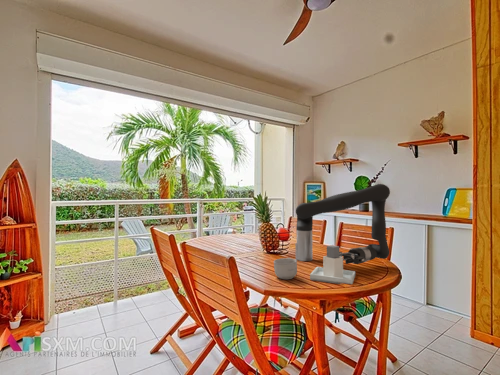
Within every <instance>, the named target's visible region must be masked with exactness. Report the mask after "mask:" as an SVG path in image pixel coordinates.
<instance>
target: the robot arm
mask: <svg viewBox="0 0 500 375" xmlns="http://www.w3.org/2000/svg"><path fill="white" fill-rule="evenodd" d="M390 190H391V189H390V188H389V186H388V185H386V184H383V183H378V184H375V185H374V184H373V185H372V186H369V187H366V188H363V189H359V190H354V191H346V192H342V193H338V194H333V195H331V196H328V197H324V198H323V199H320V200H317V201H312V202H301V203H299V204H298V205H297V206H296V208H295V215H296V225H295V226H296V242H295V247H294V248H295V260H297V261H301V262H310V261H311V262H312V261H313V217H315V216H317V215H320V214H328V213H335V212H340V211H344V210H348V209H351V208H355V207H356V206H359V205H362V204H367V203H371V209H372V210H371V211H372V213H371V214H372V217H371V239H372V240H375V241H376V242H377V243H378V244H377V243H370V244H368V245H366V246H358V247H354V248H351V249H349V250H348V251H346V252H343V251H339V256H340V257H343V261H345V264H346V265H348V264H349V265H350V264H354V265H359V264H363V263H366V262H369V261H372V260H375V259H376V258H377V259H382V260H385V259H387V258H389V255H390V247H389V245H388V241H387V240H388V239H387V223H386V222H387V221H386V214H385V213H386V212H385V208H386V203H387V199H388V198H389V196H390V193H391V191H390Z"/></svg>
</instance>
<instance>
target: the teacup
mask: <svg viewBox="0 0 500 375" xmlns="http://www.w3.org/2000/svg"><path fill="white" fill-rule="evenodd" d="M297 263H298V260H297V259H296V258H291V257H285V258H283V257H282V258H277V259H274V260H273V269H274V274H275V275H276V277H278V279H281V280H291V279H294V277H295V276H296V275H297V273H298V264H297Z"/></svg>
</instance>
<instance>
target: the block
mask: <svg viewBox="0 0 500 375" xmlns="http://www.w3.org/2000/svg"><path fill="white" fill-rule="evenodd" d="M339 252H340V246H339V245H333V244H331V245H326V256H327V257H329V258H333V259H335V258H340V257H339Z"/></svg>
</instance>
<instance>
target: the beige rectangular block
mask: <svg viewBox="0 0 500 375" xmlns="http://www.w3.org/2000/svg"><path fill="white" fill-rule="evenodd" d="M322 257H323V259H322V265H323V276H331V277H338V278H341V277H343V270H344V260H343V259H344V258H343V256H342V257H340V256H339V257H340V258H335V259H333V258H329V257H327V255H323V256H322Z"/></svg>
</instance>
